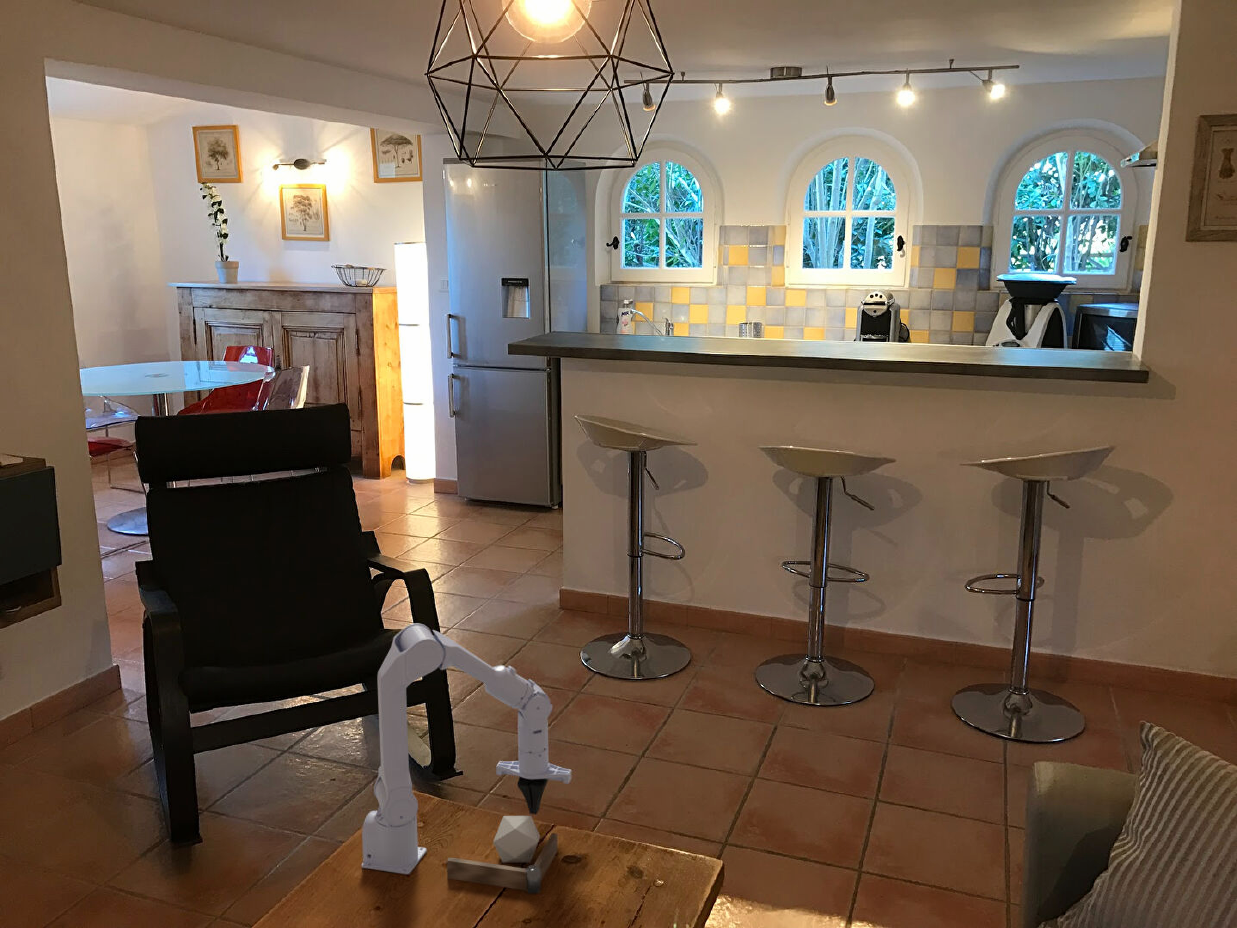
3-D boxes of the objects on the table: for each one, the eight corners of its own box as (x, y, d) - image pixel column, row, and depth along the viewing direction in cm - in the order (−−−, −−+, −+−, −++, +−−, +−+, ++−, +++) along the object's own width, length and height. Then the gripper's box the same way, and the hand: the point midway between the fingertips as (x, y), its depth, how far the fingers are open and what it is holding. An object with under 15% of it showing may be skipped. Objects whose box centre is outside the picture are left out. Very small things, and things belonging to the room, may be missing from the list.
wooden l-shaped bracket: (445, 880, 179) (445, 860, 178) (474, 838, 192) (474, 819, 191) (537, 894, 175) (537, 873, 174) (560, 850, 188) (560, 831, 187)
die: (520, 880, 180) (549, 832, 181) (480, 854, 180) (509, 806, 182) (524, 870, 188) (551, 824, 189) (485, 845, 188) (513, 799, 190)
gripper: (575, 740, 194) (576, 805, 197) (504, 732, 197) (506, 796, 200) (565, 758, 187) (565, 824, 190) (491, 749, 191) (493, 814, 193)
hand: (534, 811), depth 194 cm, fingers closed
